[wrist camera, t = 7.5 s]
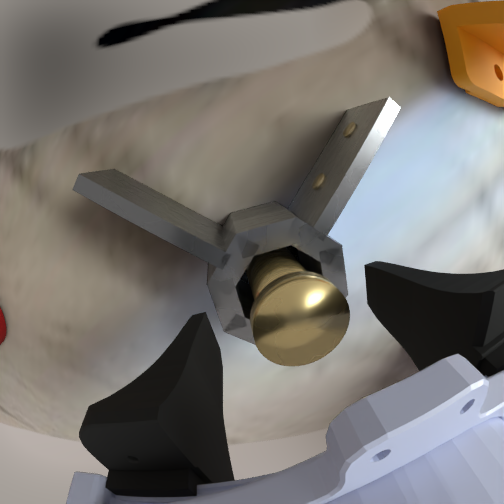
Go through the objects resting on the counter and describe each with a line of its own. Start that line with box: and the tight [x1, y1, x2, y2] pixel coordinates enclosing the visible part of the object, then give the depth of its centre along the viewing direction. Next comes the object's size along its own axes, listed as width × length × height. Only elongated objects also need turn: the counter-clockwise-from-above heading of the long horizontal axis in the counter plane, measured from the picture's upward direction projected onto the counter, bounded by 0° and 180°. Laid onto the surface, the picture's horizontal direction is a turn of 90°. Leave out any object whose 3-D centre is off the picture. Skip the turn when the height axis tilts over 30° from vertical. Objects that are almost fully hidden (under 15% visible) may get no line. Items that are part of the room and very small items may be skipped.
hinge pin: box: [245, 247, 350, 366], centre depth 15 cm, size 4×4×8 cm
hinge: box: [73, 97, 401, 345], centre depth 14 cm, size 14×14×5 cm
